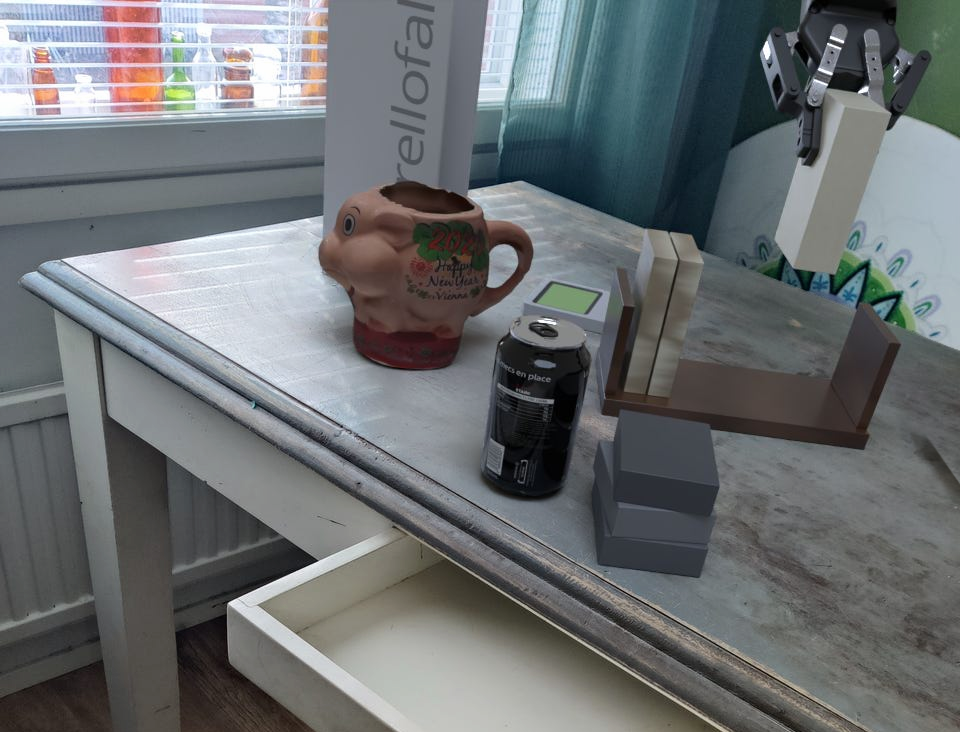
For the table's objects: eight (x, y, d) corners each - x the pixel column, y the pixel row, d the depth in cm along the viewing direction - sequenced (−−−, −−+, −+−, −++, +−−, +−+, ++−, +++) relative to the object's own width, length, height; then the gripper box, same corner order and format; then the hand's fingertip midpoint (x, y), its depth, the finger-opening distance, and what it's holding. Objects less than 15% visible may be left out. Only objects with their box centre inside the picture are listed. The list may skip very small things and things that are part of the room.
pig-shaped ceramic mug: (489, 321, 102) (508, 178, 94) (541, 370, 94) (567, 218, 85) (300, 329, 94) (302, 173, 86) (339, 383, 86) (346, 217, 77)
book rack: (832, 394, 98) (883, 256, 90) (864, 449, 89) (924, 301, 80) (594, 361, 97) (624, 219, 89) (601, 414, 88) (634, 260, 79)
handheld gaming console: (661, 332, 101) (522, 299, 104) (657, 347, 102) (520, 314, 105) (675, 303, 109) (546, 273, 112) (672, 317, 110) (544, 287, 113)
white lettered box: (321, 272, 107) (329, -63, 89) (354, 263, 111) (368, -61, 93) (425, 312, 102) (456, -36, 83) (456, 300, 106) (492, -35, 87)
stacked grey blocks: (684, 504, 77) (708, 420, 72) (701, 578, 69) (730, 488, 64) (586, 491, 76) (604, 406, 72) (592, 564, 68) (613, 472, 64)
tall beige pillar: (813, 245, 87) (863, 93, 80) (835, 275, 81) (892, 113, 73) (774, 239, 87) (820, 87, 80) (792, 268, 81) (844, 106, 73)
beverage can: (533, 453, 80) (558, 308, 73) (583, 493, 76) (615, 344, 69) (462, 467, 77) (481, 316, 69) (510, 510, 73) (536, 355, 65)
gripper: (784, -82, 77) (765, 121, 75) (960, -54, 78) (946, 149, 75) (752, -9, 84) (734, 178, 82) (912, 16, 85) (899, 203, 83)
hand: (836, 163), depth 79 cm, fingers closed on tall beige pillar, 3 cm apart
